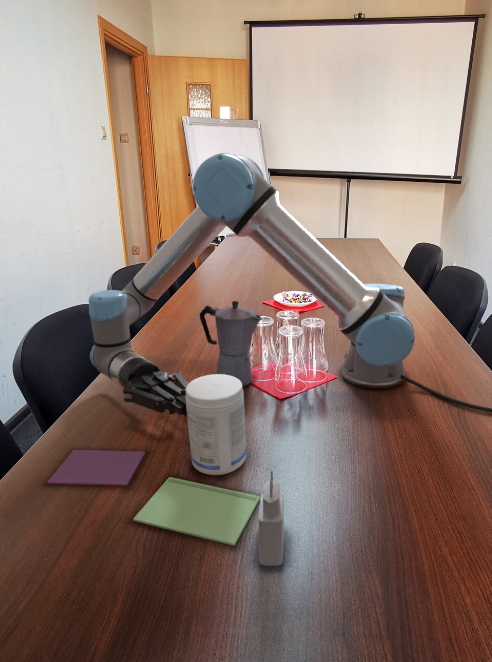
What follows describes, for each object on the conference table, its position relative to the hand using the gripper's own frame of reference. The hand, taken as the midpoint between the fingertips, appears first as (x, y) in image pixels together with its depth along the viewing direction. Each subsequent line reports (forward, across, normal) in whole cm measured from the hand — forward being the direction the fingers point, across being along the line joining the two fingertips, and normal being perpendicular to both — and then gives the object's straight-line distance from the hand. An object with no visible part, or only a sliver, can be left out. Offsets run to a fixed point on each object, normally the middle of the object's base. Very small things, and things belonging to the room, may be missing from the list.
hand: (199, 415), depth 81 cm
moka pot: (-19, -22, -7) cm, 29 cm away
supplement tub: (+5, 0, -7) cm, 9 cm away
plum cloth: (-8, +16, -7) cm, 19 cm away
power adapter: (+26, +7, -7) cm, 28 cm away
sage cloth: (+13, +9, -7) cm, 17 cm away
